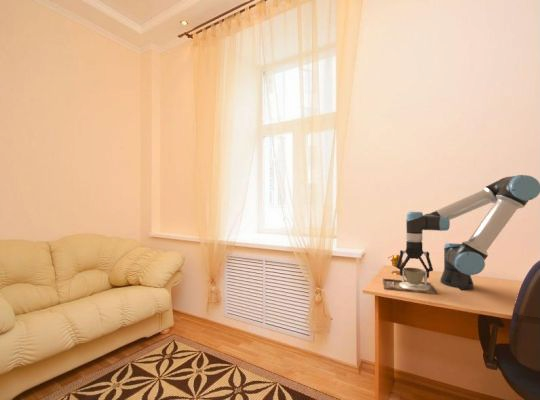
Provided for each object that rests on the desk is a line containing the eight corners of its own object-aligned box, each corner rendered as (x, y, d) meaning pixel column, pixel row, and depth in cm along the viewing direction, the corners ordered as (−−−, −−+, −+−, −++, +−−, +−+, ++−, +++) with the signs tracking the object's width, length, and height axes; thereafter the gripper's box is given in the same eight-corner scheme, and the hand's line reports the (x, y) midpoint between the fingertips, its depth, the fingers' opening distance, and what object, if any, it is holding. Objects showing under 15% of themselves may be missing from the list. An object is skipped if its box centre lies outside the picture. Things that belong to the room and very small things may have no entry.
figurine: (387, 271, 180) (387, 253, 180) (405, 272, 178) (405, 253, 178) (390, 275, 172) (390, 255, 172) (409, 276, 170) (409, 256, 170)
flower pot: (427, 287, 141) (427, 273, 141) (406, 285, 143) (406, 271, 143) (421, 281, 151) (421, 267, 151) (401, 279, 153) (401, 267, 153)
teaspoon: (391, 281, 156) (391, 281, 156) (395, 282, 155) (395, 281, 155) (389, 287, 147) (389, 286, 147) (393, 287, 146) (393, 286, 146)
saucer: (426, 284, 151) (426, 283, 151) (431, 293, 138) (431, 291, 138) (398, 282, 156) (398, 280, 156) (400, 290, 143) (400, 288, 143)
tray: (429, 285, 152) (430, 282, 152) (436, 295, 136) (436, 292, 136) (382, 281, 160) (382, 278, 160) (384, 290, 144) (384, 287, 144)
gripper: (436, 240, 146) (436, 282, 147) (390, 238, 154) (390, 278, 154) (440, 243, 139) (440, 287, 140) (391, 240, 147) (391, 282, 147)
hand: (414, 282), depth 147 cm, fingers closed on flower pot, 10 cm apart
